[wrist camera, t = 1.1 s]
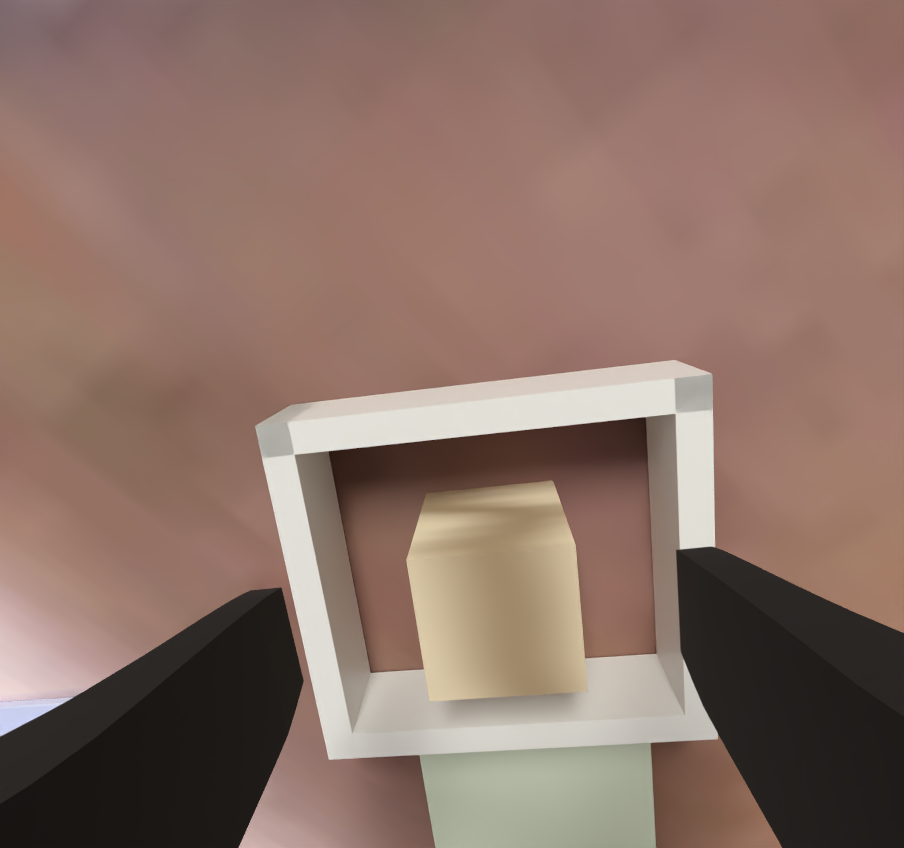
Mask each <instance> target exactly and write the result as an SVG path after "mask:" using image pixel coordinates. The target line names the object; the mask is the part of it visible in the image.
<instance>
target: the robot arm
mask: <svg viewBox="0 0 904 848" xmlns="http://www.w3.org/2000/svg"><path fill="white" fill-rule="evenodd" d="M676 562H677V584H678V606H679V627H680V649H681V654H682V656H683V659H684V661H685V664H686V666H687V669H688V671H689V674H690V676H691V679H692V681H693V684H694V686H695V688H696V691H697V693H698V695H699V698H700V700H701V702H702V705H703V707H704V709H705V711H706V713H707V714H708V716H709V718H710V720H711V722H712V724H713V725H714V727H715V729H716V731H717V732H718V734H719V736H720V738H721V740H722V741H723V743H724V745H725V747H726V749H727V750H728V752H729V754H730V756H731V758H732V759H733V761H734V763H735V765H736V766H737V768H738V770H739V772H740V773H741V775H742V777H743V779H744V780H745V782H746V784H747V786H748V788H749V789H750V791H751V793H752V795H753V796H754V798H755V800H756V802H757V803H758V805H759V807H760V809H761V811H762V812H763V814H764V816H765V818H766V819H767V821H768V823H769V825H770V826H771V828H772V830H773V832H774V834H775V835H776V837H777V839H778V841H779V842H780V844H781V846H782V848H904V633H902V632H900V631H897V630H895V629H893V628H890V627H888V626H885V625H883V624H881V623H878V622H876V621H874V620H871V619H869V618H866V617H864V616H862V615H859V614H857V613H855V612H852V611H850V610H848V609H846V608H843V607H841V606H839V605H837V604H835V603H832V602H830V601H828V600H826V599H824V598H821V597H819V596H817V595H815V594H813V593H811V592H809V591H807V590H804V589H802V588H800V587H798V586H796V585H794V584H792V583H790V582H788V581H786V580H784V579H782V578H780V577H778V576H775V575H773V574H771V573H769V572H767V571H765V570H763V569H761V568H759V567H757V566H755V565H753V564H751V563H749V562H747V561H745V560H743V559H741V558H738V557H736V556H734V555H732V554H730V553H728V552H725V551H723V550H720V549H718V548H715V547H712V546H711V547H700V548H690V549H679V550H676ZM302 685H303V677H302V673H301V668H300V664H299V660H298V656H297V652H296V647H295V643H294V639H293V635H292V630H291V626H290V622H289V618H288V613H287V609H286V605H285V601H284V597H283V592H282V588H272V589H261V590H251V591H249V592H246V593H244V594H242V595H240V596H238V597H237V598H235V599H233V600H231V601H229V602H228V603H226V604H224V605H223V606H221V607H219V608H218V609H216V610H215V611H213V612H211V613H210V614H208V615H207V616H205V617H203V618H202V619H200V620H199V621H197V622H196V623H194V624H192V625H191V626H189V627H188V628H186V629H185V630H183V631H181V632H180V633H178V634H177V635H175V636H174V637H172V638H171V639H169V640H167V641H166V642H164V643H163V644H161V645H160V646H158V647H156V648H155V649H153V650H152V651H150V652H149V653H147V654H145V655H144V656H142V657H140V658H139V659H137V660H135V661H134V662H132V663H131V664H129V665H127V666H126V667H124V668H122V669H121V670H119V671H117V672H116V673H114V674H112V675H111V676H109V677H107V678H106V679H104V680H102V681H101V682H99V683H97V684H96V685H94V686H92V687H91V688H89V689H87V690H86V691H84V692H82V693H81V694H79V695H77V696H75V697H68V698H53V699H38V700H23V701H8V702H0V848H238V847H239V845H240V843H241V841H242V838H243V836H244V834H245V832H246V829H247V827H248V825H249V823H250V820H251V818H252V816H253V814H254V811H255V809H256V807H257V805H258V802H259V800H260V798H261V796H262V793H263V791H264V789H265V787H266V785H267V782H268V780H269V778H270V775H271V773H272V771H273V768H274V766H275V764H276V762H277V759H278V757H279V755H280V752H281V750H282V748H283V745H284V743H285V740H286V738H287V736H288V733H289V729H290V726H291V723H292V720H293V717H294V713H295V710H296V707H297V703H298V699H299V696H300V692H301V689H302Z"/></svg>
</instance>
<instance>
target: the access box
mask: <svg viewBox="0 0 904 848" xmlns="http://www.w3.org/2000/svg"><path fill="white" fill-rule="evenodd" d="M641 417H646V431H647V454H648V476H649V498H650V520H651V543H652V565H653V587H654V610H655V632H656V654H645V655H630V656H615V657H600V658H586V659H585V666H586V678H587V691H588V692H572V693H557V694H541V695H525V696H509V697H493V698H477V699H461V700H445V701H429V695H428V689H427V683H426V677H425V671H424V669H422V670H408V671H393V672H378V673H371V672H370V666H369V661H368V656H367V651H366V645H365V640H364V635H363V630H362V624H361V619H360V614H359V609H358V604H357V598H356V593H355V588H354V583H353V577H352V572H351V567H350V562H349V556H348V551H347V546H346V541H345V535H344V530H343V525H342V520H341V514H340V509H339V504H338V499H337V493H336V488H335V483H334V478H333V472H332V467H331V462H330V457H329V452H328V451H334V450H343V449H353V448H362V447H371V446H381V445H390V444H399V443H408V442H418V441H427V440H436V439H446V438H455V437H464V436H473V435H483V434H492V433H501V432H511V431H520V430H529V429H539V428H548V427H557V426H566V425H576V424H585V423H594V422H604V421H613V420H622V419H631V418H641ZM255 428H256V433H257V437H258V442H259V446H260V451H261V455H262V460H263V464H264V469H265V473H266V478H267V482H268V487H269V491H270V496H271V500H272V505H273V509H274V514H275V518H276V523H277V527H278V532H279V536H280V541H281V545H282V550H283V554H284V559H285V563H286V568H287V572H288V577H289V581H290V586H291V590H292V595H293V599H294V604H295V608H296V613H297V617H298V622H299V626H300V631H301V635H302V640H303V644H304V649H305V653H306V658H307V662H308V667H309V672H310V676H311V681H312V685H313V690H314V694H315V699H316V703H317V708H318V712H319V717H320V721H321V726H322V730H323V735H324V739H325V744H326V748H327V753H328V757H329V760H331V759H350V758H369V757H388V756H407V755H426V754H445V753H464V752H483V751H502V750H521V749H541V748H560V747H579V746H598V745H617V744H636V743H655V742H674V741H693V740H712V739H718V732H717V731H716V729H715V727H714V725H713V724H712V722H711V720H710V718H709V716H708V714H707V713H706V711H705V709H704V707H703V705H702V702H701V700H700V698H699V695H698V693H697V691H696V688H695V686H694V684H693V681H692V679H691V676H690V674H689V671H688V669H687V666H686V664H685V661H684V659H683V656H682V654H681V649H680V627H679V606H678V584H677V562H676V550H679V549H690V548H700V547H711V546H712V547H715V522H714V453H713V385H712V374H711V373H708V372H706V371H703V370H700V369H698V368H695V367H692V366H689V365H687V364H684V363H681V362H679V361H676V360H671V361H662V362H654V363H645V364H637V365H628V366H619V367H611V368H602V369H594V370H585V371H577V372H568V373H559V374H551V375H542V376H534V377H525V378H517V379H508V380H499V381H491V382H482V383H474V384H465V385H457V386H448V387H439V388H431V389H422V390H414V391H405V392H397V393H388V394H379V395H371V396H362V397H354V398H345V399H337V400H328V401H319V402H311V403H302V404H294V405H290V406H288V407H287V408H285V409H283V410H281V411H280V412H278V413H276V414H275V415H273V416H271V417H270V418H268V419H266V420H264V421H263V422H261V423H259V424H258V425H256V426H255Z"/></svg>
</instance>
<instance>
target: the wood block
mask: <svg viewBox="0 0 904 848" xmlns="http://www.w3.org/2000/svg"><path fill="white" fill-rule="evenodd" d="M406 561H407V567H408V573H409V579H410V585H411V591H412V597H413V603H414V609H415V616H416V622H417V628H418V634H419V640H420V646H421V652H422V658H423V664H424V671H425V677H426V683H427V689H428V695H429V701H445V700H461V699H477V698H493V697H509V696H525V695H541V694H557V693H572V692H588V691H587V678H586V666H585V654H584V642H583V629H582V617H581V605H580V593H579V581H578V568H577V556H576V545H575V542H574V539H573V536H572V534H571V531H570V528H569V525H568V522H567V519H566V516H565V514H564V511H563V508H562V505H561V502H560V499H559V496H558V493H557V491H556V488H555V485H554V482H553V481H543V482H533V483H522V484H512V485H502V486H492V487H482V488H472V489H462V490H452V491H441V492H431V493H426V496H425V500H424V503H423V506H422V510H421V513H420V516H419V520H418V523H417V527H416V530H415V533H414V537H413V540H412V543H411V547H410V550H409V553H408V557H407V560H406Z"/></svg>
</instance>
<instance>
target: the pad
mask: <svg viewBox="0 0 904 848" xmlns="http://www.w3.org/2000/svg"><path fill="white" fill-rule="evenodd" d="M419 756H420V762H421V768H422V773H423V779H424V785H425V791H426V797H427V802H428V808H429V814H430V820H431V825H432V831H433V837H434V843H435V848H656V839H655V819H654V799H653V779H652V760H651V743H636V744H617V745H598V746H579V747H560V748H541V749H521V750H502V751H483V752H464V753H445V754H426V755H419Z"/></svg>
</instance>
